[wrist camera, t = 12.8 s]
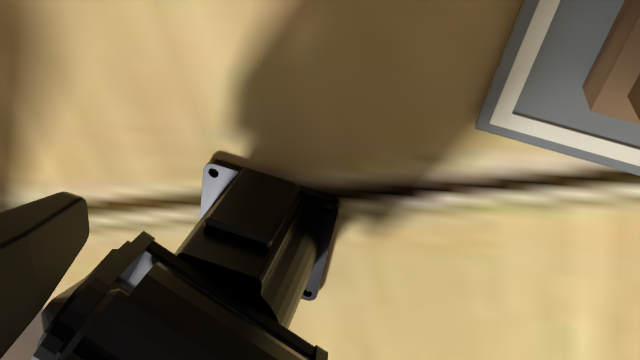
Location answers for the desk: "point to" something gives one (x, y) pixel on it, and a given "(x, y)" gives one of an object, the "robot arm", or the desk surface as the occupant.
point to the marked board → (558, 85)
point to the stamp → (618, 68)
